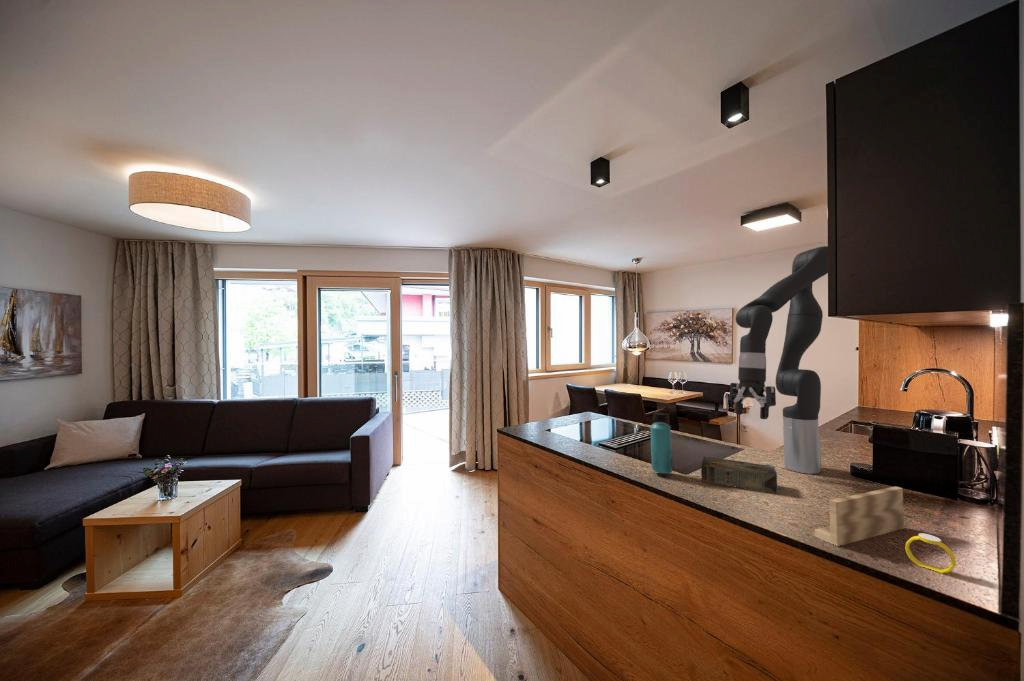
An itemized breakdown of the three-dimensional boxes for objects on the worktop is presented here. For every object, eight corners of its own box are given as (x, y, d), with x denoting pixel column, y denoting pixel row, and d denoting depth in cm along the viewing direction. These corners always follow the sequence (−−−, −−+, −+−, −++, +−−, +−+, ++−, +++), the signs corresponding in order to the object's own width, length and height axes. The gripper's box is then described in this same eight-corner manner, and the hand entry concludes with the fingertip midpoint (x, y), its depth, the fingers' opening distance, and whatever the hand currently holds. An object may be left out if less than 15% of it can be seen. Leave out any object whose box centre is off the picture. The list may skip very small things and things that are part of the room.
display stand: (880, 519, 85) (878, 481, 85) (904, 528, 80) (902, 488, 81) (814, 536, 78) (813, 494, 78) (837, 546, 74) (835, 502, 74)
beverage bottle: (675, 478, 113) (673, 415, 113) (653, 477, 114) (651, 414, 114) (670, 471, 119) (668, 411, 120) (649, 470, 120) (647, 411, 121)
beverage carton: (778, 495, 100) (778, 471, 100) (701, 483, 109) (700, 461, 110) (775, 485, 106) (774, 463, 107) (702, 475, 116) (701, 454, 116)
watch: (955, 575, 65) (957, 543, 65) (953, 581, 63) (955, 548, 63) (906, 557, 70) (908, 527, 70) (903, 562, 68) (905, 531, 68)
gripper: (782, 368, 112) (781, 420, 111) (740, 366, 125) (739, 412, 124) (764, 367, 109) (763, 420, 109) (724, 365, 123) (723, 412, 122)
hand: (750, 416), depth 117 cm, fingers open, 8 cm apart
